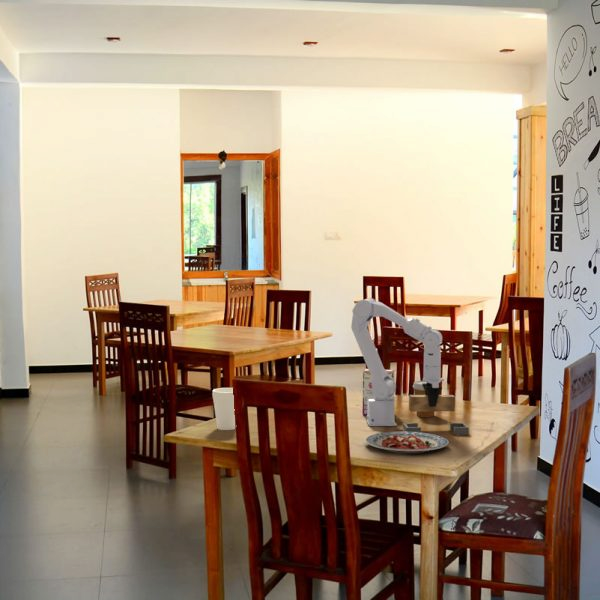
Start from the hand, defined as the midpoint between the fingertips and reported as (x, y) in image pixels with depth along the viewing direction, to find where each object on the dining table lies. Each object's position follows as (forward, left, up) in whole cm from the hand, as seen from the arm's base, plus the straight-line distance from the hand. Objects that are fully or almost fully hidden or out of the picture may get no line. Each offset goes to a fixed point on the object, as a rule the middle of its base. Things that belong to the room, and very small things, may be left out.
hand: (431, 405), depth 314 cm
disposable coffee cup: (+2, +21, -8) cm, 22 cm away
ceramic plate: (-12, -27, -8) cm, 31 cm away
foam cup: (-70, +1, -8) cm, 70 cm away
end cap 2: (+8, -8, -8) cm, 13 cm away
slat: (0, 0, -2) cm, 2 cm away
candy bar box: (-15, +23, -8) cm, 29 cm away
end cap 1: (-7, -8, -8) cm, 13 cm away
